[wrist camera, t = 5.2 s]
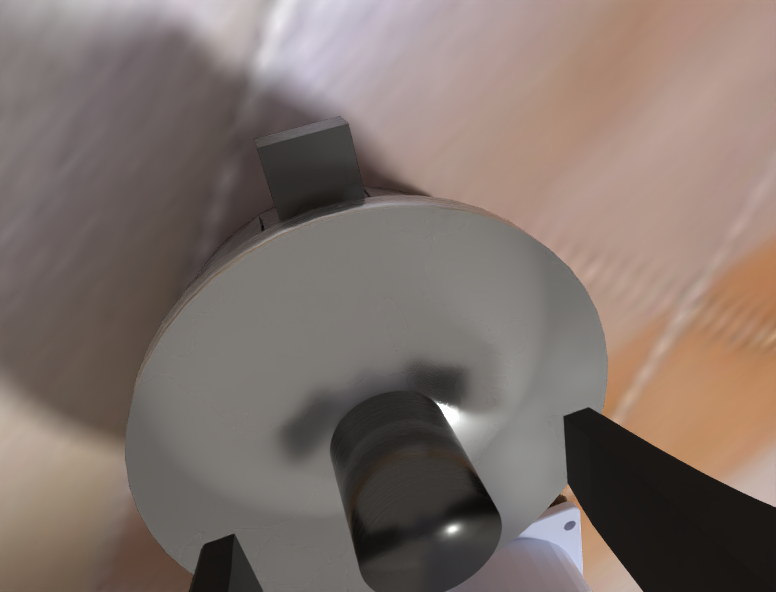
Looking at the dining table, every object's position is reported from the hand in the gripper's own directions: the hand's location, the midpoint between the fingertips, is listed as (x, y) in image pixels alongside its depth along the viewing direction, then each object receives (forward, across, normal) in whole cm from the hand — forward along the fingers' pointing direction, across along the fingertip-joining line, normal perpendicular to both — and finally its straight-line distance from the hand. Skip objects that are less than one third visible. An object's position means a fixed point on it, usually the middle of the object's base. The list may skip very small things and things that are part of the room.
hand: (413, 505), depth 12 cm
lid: (+3, 0, 0) cm, 3 cm away
